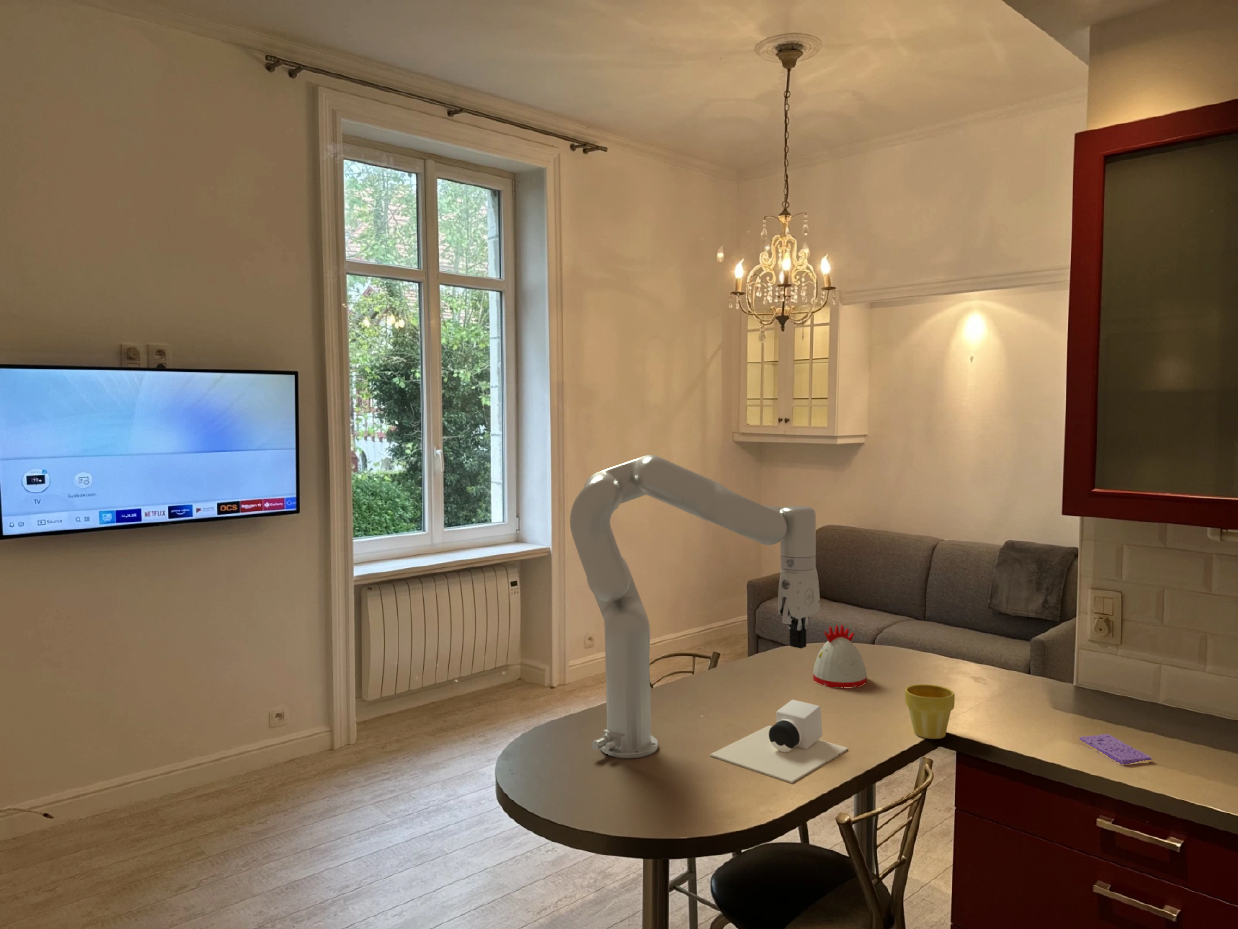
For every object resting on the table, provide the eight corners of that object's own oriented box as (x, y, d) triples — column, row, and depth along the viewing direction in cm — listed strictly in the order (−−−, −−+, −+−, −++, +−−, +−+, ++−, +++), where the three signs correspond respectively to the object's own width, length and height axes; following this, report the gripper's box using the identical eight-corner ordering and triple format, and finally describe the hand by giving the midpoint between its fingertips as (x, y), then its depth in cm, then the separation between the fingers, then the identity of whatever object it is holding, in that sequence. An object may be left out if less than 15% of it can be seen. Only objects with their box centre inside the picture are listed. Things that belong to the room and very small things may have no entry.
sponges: (1107, 742, 184) (1107, 733, 183) (1152, 765, 171) (1153, 756, 171) (1078, 744, 182) (1078, 736, 182) (1121, 768, 170) (1121, 759, 170)
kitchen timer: (805, 674, 233) (804, 620, 232) (851, 670, 236) (851, 617, 235) (826, 690, 219) (826, 633, 218) (875, 686, 222) (875, 630, 221)
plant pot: (910, 722, 196) (910, 680, 195) (957, 730, 191) (958, 687, 190) (900, 737, 187) (900, 693, 186) (949, 746, 182) (949, 701, 181)
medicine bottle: (792, 698, 189) (763, 720, 180) (821, 705, 184) (793, 728, 175) (794, 728, 190) (765, 751, 181) (823, 736, 185) (795, 760, 176)
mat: (791, 783, 165) (791, 781, 165) (710, 756, 179) (710, 754, 179) (848, 749, 181) (848, 748, 181) (769, 727, 195) (769, 725, 194)
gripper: (793, 570, 175) (793, 657, 177) (831, 560, 186) (831, 643, 187) (763, 566, 181) (763, 650, 182) (801, 557, 191) (801, 637, 192)
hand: (798, 646), depth 184 cm, fingers closed
